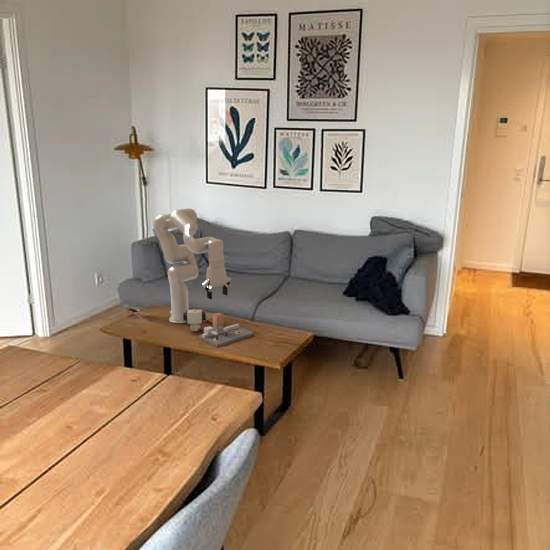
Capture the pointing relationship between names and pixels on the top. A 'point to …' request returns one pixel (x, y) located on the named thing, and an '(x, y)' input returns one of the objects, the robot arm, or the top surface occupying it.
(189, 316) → the pneumatic valve
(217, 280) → the robot arm
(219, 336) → the plate
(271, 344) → the top surface
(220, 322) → the sliding leg
